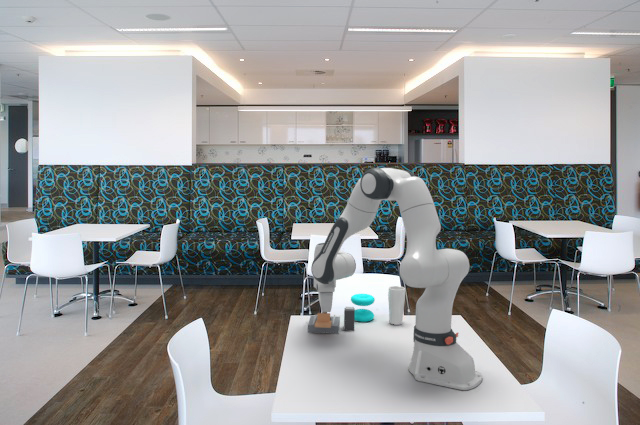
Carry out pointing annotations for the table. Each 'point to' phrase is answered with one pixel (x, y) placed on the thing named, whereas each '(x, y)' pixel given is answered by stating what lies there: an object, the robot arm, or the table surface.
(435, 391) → the table surface
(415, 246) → the robot arm
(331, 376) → the table surface
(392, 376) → the table surface
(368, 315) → the donuts
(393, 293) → the drinking glass
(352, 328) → the plug
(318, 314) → the block
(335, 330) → the socket plate
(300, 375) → the table surface
